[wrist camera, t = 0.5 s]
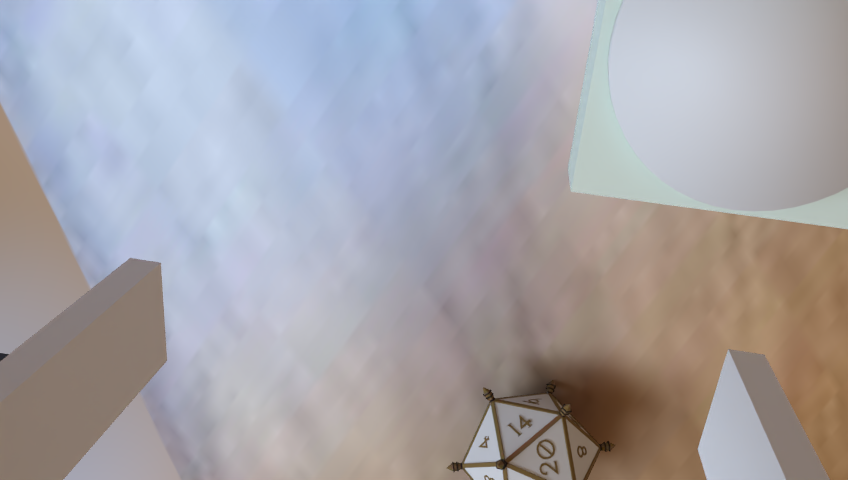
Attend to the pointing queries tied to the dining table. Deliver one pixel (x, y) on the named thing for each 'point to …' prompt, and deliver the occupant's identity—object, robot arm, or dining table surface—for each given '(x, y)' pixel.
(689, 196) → the scale
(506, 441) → the game die
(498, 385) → the dining table surface
